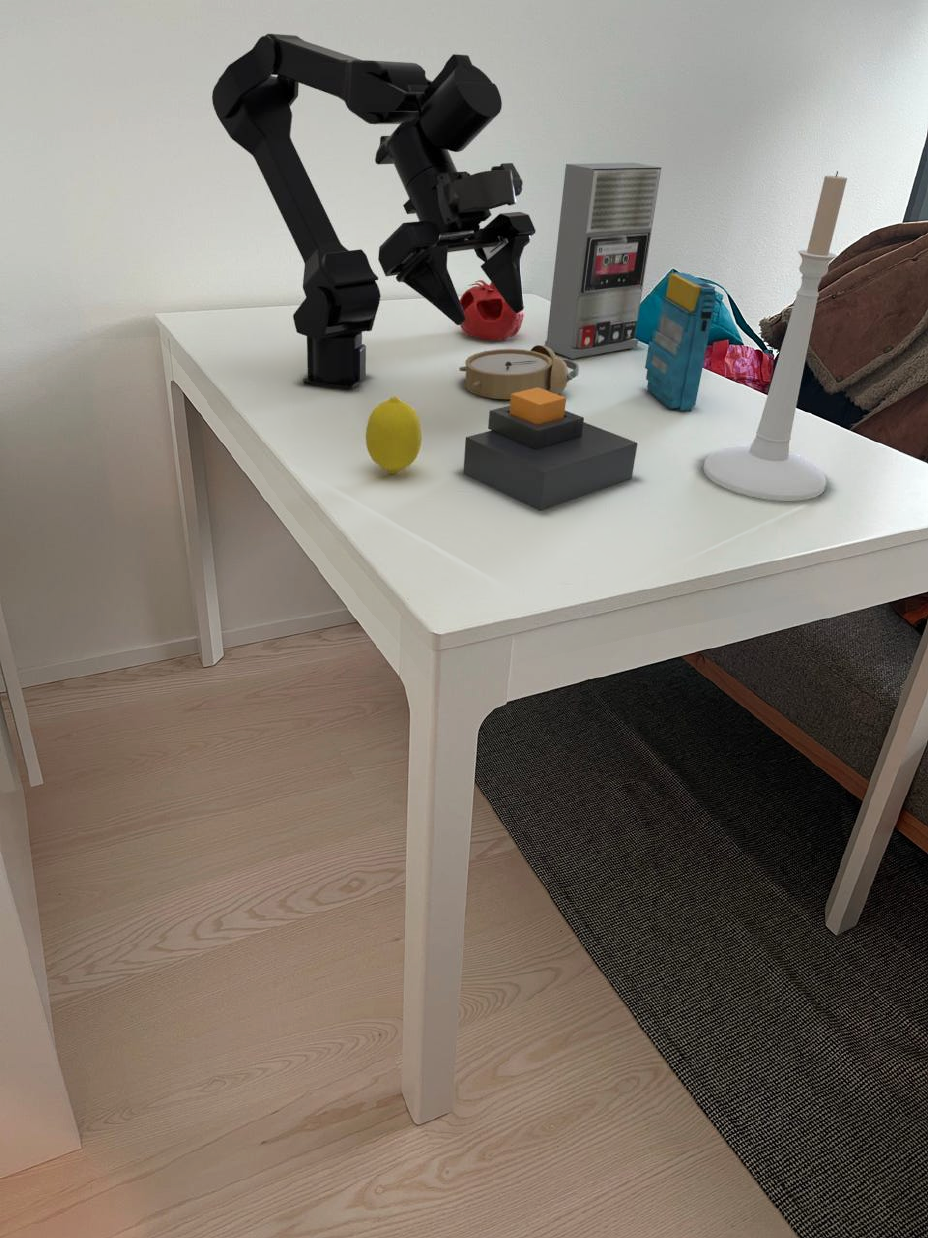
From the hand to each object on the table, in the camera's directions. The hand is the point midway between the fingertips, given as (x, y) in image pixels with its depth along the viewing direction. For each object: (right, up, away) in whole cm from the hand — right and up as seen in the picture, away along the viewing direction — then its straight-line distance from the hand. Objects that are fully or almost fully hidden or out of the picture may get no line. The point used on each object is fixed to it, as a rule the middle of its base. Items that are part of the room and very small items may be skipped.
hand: (491, 317), depth 100 cm
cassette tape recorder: (+16, +8, +42) cm, 46 cm away
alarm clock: (+4, -2, +24) cm, 24 cm away
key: (+4, -11, -3) cm, 12 cm away
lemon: (-10, -17, -3) cm, 20 cm away
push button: (+6, -17, -1) cm, 18 cm away
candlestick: (+29, -17, +2) cm, 34 cm away
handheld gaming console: (+24, -3, +24) cm, 33 cm away
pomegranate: (+1, +12, +45) cm, 47 cm away
